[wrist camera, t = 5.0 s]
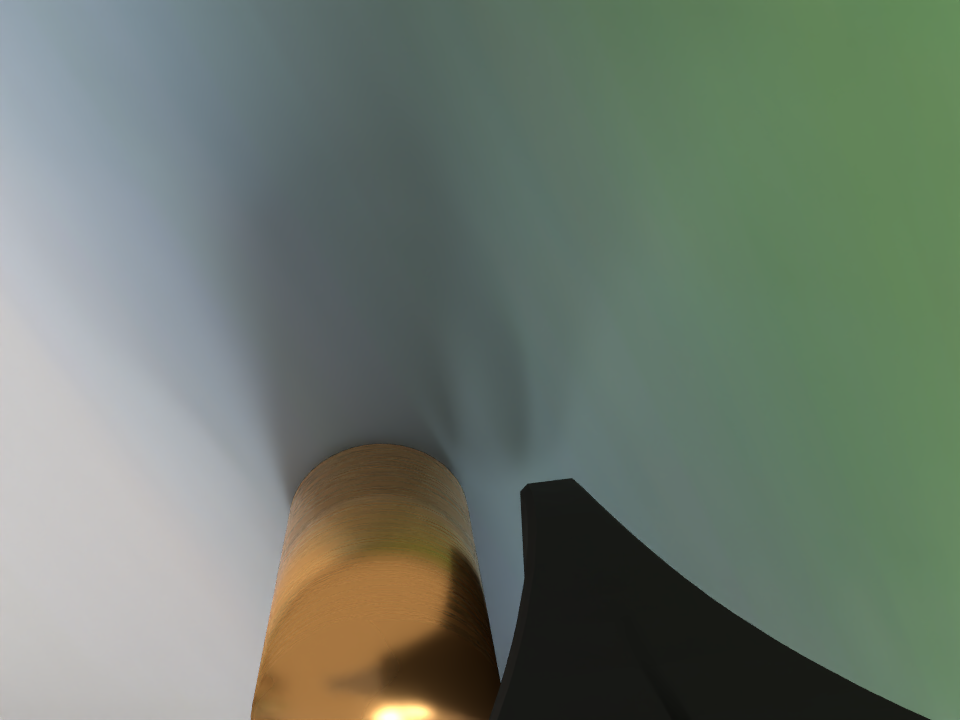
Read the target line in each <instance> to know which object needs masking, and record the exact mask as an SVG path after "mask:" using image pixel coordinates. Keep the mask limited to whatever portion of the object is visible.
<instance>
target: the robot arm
mask: <svg viewBox="0 0 960 720" xmlns="http://www.w3.org/2000/svg"><path fill="white" fill-rule="evenodd" d="M520 496H521V516H522V536H523V557H524V577H525V578H524V585H523V590H522V596H521V602H520V607H519V613H518V619H517V624H516V628H515V632H514V637H513V641H512V645H511V649H510V653H509V657H508V660H507V664H506V667H505V671H504V675H503V678H502V681H501V685H500V688H499V691H498V694H497V697H496V700H495V703H494V706H493V709H492V712H491V715H490V718H489V720H930V719H928V718H926V717H924V716H921V715H919V714H917V713H915V712H912V711H910V710H908V709H906V708H903V707H901V706H899V705H897V704H895V703H893V702H891V701H889V700H887V699H885V698H883V697H881V696H879V695H876V694H874V693H872V692H870V691H868V690H866V689H864V688H862V687H860V686H858V685H856V684H855V683H853V682H851V681H849V680H847V679H845V678H843V677H841V676H839V675H838V674H836V673H834V672H832V671H830V670H828V669H826V668H824V667H823V666H821V665H819V664H817V663H815V662H813V661H811V660H809V659H808V658H806V657H804V656H802V655H801V654H799V653H797V652H795V651H794V650H792V649H790V648H788V647H787V646H785V645H783V644H782V643H780V642H778V641H777V640H775V639H774V638H772V637H770V636H769V635H767V634H766V633H764V632H762V631H761V630H759V629H758V628H756V627H755V626H753V625H751V624H750V623H748V622H747V621H745V620H743V619H742V618H740V617H739V616H737V615H736V614H734V613H733V612H731V611H730V610H728V609H727V608H725V607H724V606H722V605H721V604H719V603H718V602H717V601H715V600H714V599H712V598H711V597H710V596H708V595H707V594H706V593H704V592H703V591H702V590H700V589H699V588H697V587H696V586H695V585H693V584H692V583H691V582H689V581H688V580H687V579H685V578H684V577H683V576H682V575H680V574H679V573H678V572H677V571H675V570H674V569H673V568H672V567H670V566H669V565H668V564H667V563H666V562H664V561H663V560H662V559H661V558H660V557H658V556H657V555H656V554H655V553H654V552H653V551H651V550H650V549H649V548H648V547H647V546H645V545H644V544H643V543H642V542H641V541H640V540H638V539H637V538H636V537H635V536H634V535H633V534H632V533H631V532H629V531H628V530H627V529H626V528H625V527H624V526H623V525H622V524H621V523H620V522H618V521H617V520H616V519H615V518H614V517H613V516H612V515H611V514H610V513H609V512H608V511H607V510H606V509H605V508H603V507H602V506H601V505H600V504H599V503H598V502H597V501H596V500H595V499H594V498H593V497H592V496H591V495H590V494H589V493H588V492H587V491H586V490H585V489H584V488H583V487H582V486H580V485H579V484H578V483H577V482H576V481H575V480H573V479H572V478H571V479H562V480H554V481H546V482H538V483H530V484H527V485H526V486H525V487H524V488H523V489H522V490H521V491H520Z"/></svg>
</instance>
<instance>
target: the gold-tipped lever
mask: <svg viewBox="0 0 960 720" xmlns="http://www.w3.org/2000/svg"><path fill="white" fill-rule="evenodd" d="M500 685H501V682H500V677H499V672H498V666H497V661H496V656H495V650H494V645H493V640H492V634H491V629H490V624H489V618H488V613H487V608H486V602H485V597H484V592H483V586H482V581H481V576H480V570H479V565H478V559H477V554H476V549H475V543H474V538H473V533H472V527H471V522H470V517H469V511H468V506H467V502H466V497H465V495H464V492H463V490H462V487H461V486H460V484H459V482H458V481H457V479H456V478H455V477H454V475H453V474H452V473H451V472H450V471H449V470H448V469H447V468H446V467H445V466H444V465H443V464H442V463H440V462H439V461H437V460H436V459H435V458H433V457H431V456H429V455H427V454H426V453H424V452H421V451H418V450H416V449H413V448H409V447H405V446H401V445H393V444H371V445H363V446H358V447H354V448H350V449H348V450H345V451H342V452H340V453H337V454H335V455H333V456H331V457H329V458H328V459H326V460H325V461H323V462H322V463H320V464H319V465H318V466H317V467H315V468H314V469H313V470H312V471H311V472H310V473H309V474H308V475H307V476H306V477H305V479H304V480H303V481H302V483H301V484H300V486H299V487H298V489H297V491H296V493H295V495H294V498H293V501H292V504H291V508H290V513H289V518H288V524H287V529H286V534H285V539H284V544H283V549H282V555H281V560H280V565H279V570H278V575H277V580H276V586H275V591H274V596H273V601H272V606H271V611H270V616H269V622H268V627H267V632H266V637H265V642H264V647H263V653H262V658H261V663H260V668H259V673H258V678H257V684H256V689H255V694H254V699H253V704H252V711H251V720H489V718H490V715H491V712H492V709H493V706H494V703H495V700H496V697H497V694H498V691H499V688H500Z"/></svg>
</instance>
